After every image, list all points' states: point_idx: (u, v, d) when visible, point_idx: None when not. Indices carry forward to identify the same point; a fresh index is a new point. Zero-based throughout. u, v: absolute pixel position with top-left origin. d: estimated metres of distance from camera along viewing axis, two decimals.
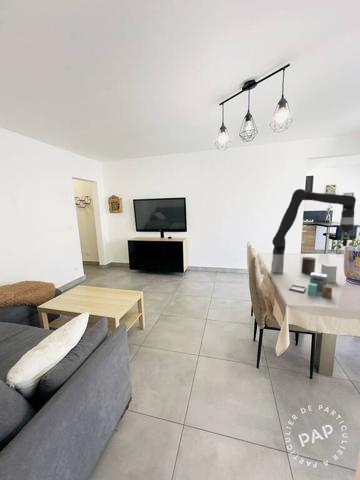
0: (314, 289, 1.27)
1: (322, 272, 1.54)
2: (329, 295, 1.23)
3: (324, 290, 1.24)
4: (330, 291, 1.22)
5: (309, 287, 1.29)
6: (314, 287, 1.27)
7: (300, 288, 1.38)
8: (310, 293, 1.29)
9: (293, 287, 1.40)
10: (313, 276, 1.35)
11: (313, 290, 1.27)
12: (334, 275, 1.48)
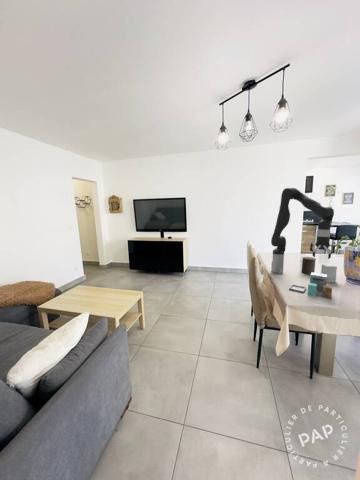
0: (314, 289, 1.27)
1: (322, 272, 1.54)
2: (329, 295, 1.23)
3: (324, 290, 1.24)
4: (330, 291, 1.22)
5: (309, 287, 1.29)
6: (314, 287, 1.27)
7: (300, 288, 1.38)
8: (310, 293, 1.29)
9: (293, 287, 1.40)
10: (313, 276, 1.35)
11: (313, 290, 1.27)
12: (334, 275, 1.48)
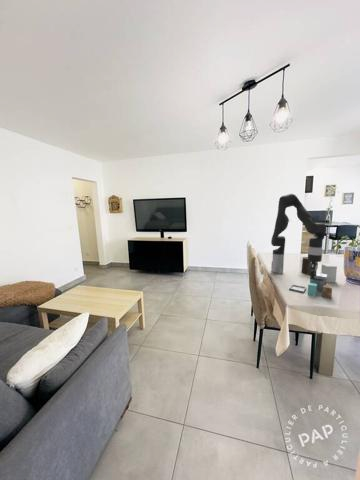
0: (314, 289, 1.27)
1: (322, 272, 1.54)
2: (329, 295, 1.23)
3: (324, 290, 1.24)
4: (330, 291, 1.22)
5: (309, 287, 1.29)
6: (314, 287, 1.27)
7: (300, 288, 1.38)
8: (310, 293, 1.29)
9: (293, 287, 1.40)
10: None
11: (313, 290, 1.27)
12: (334, 275, 1.48)
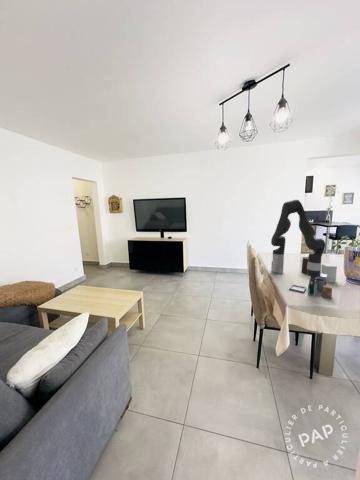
0: (314, 289, 1.27)
1: (322, 272, 1.54)
2: (329, 295, 1.23)
3: (324, 290, 1.24)
4: (330, 291, 1.22)
5: None
6: (314, 287, 1.27)
7: (300, 288, 1.38)
8: None
9: (293, 287, 1.40)
10: None
11: None
12: (334, 275, 1.48)
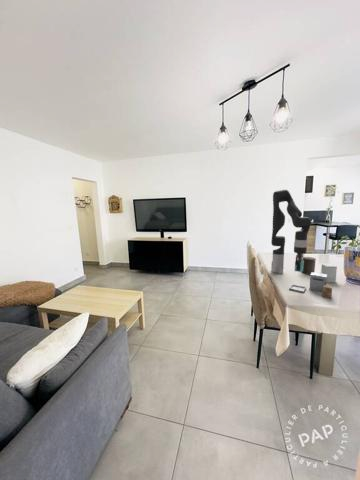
0: (300, 265, 1.33)
1: (322, 272, 1.54)
2: (329, 295, 1.23)
3: (324, 290, 1.24)
4: (330, 291, 1.22)
5: None
6: None
7: (300, 288, 1.38)
8: None
9: (293, 287, 1.40)
10: (313, 276, 1.35)
11: None
12: (334, 275, 1.48)
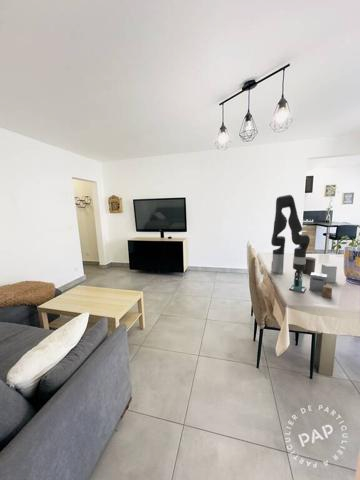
0: (299, 284, 1.35)
1: (322, 272, 1.54)
2: (329, 295, 1.23)
3: (324, 290, 1.24)
4: (330, 291, 1.22)
5: None
6: (299, 282, 1.35)
7: None
8: (296, 288, 1.37)
9: None
10: (313, 276, 1.35)
11: None
12: (334, 275, 1.48)
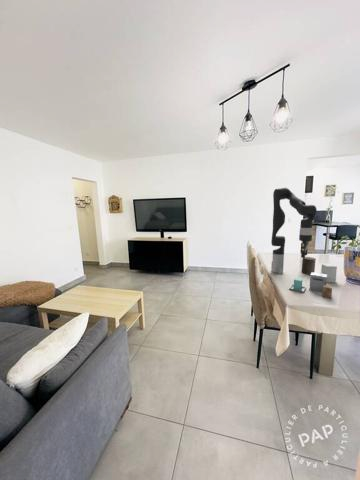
0: (299, 284, 1.35)
1: (322, 272, 1.54)
2: (329, 295, 1.23)
3: (324, 290, 1.24)
4: (330, 291, 1.22)
5: (295, 282, 1.37)
6: (299, 282, 1.35)
7: None
8: (296, 288, 1.37)
9: None
10: (313, 276, 1.35)
11: (298, 285, 1.35)
12: (334, 275, 1.48)
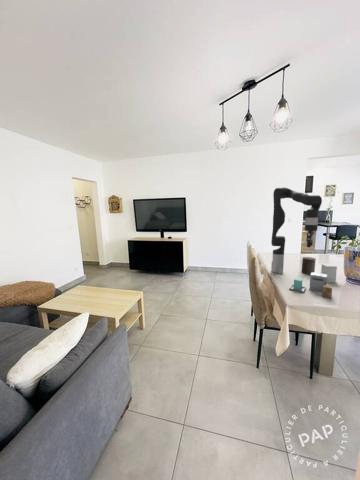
0: (299, 284, 1.35)
1: (322, 272, 1.54)
2: (329, 295, 1.23)
3: (324, 290, 1.24)
4: (330, 291, 1.22)
5: (295, 282, 1.37)
6: (299, 282, 1.35)
7: None
8: (296, 288, 1.37)
9: None
10: (313, 276, 1.35)
11: (298, 285, 1.35)
12: (334, 275, 1.48)
